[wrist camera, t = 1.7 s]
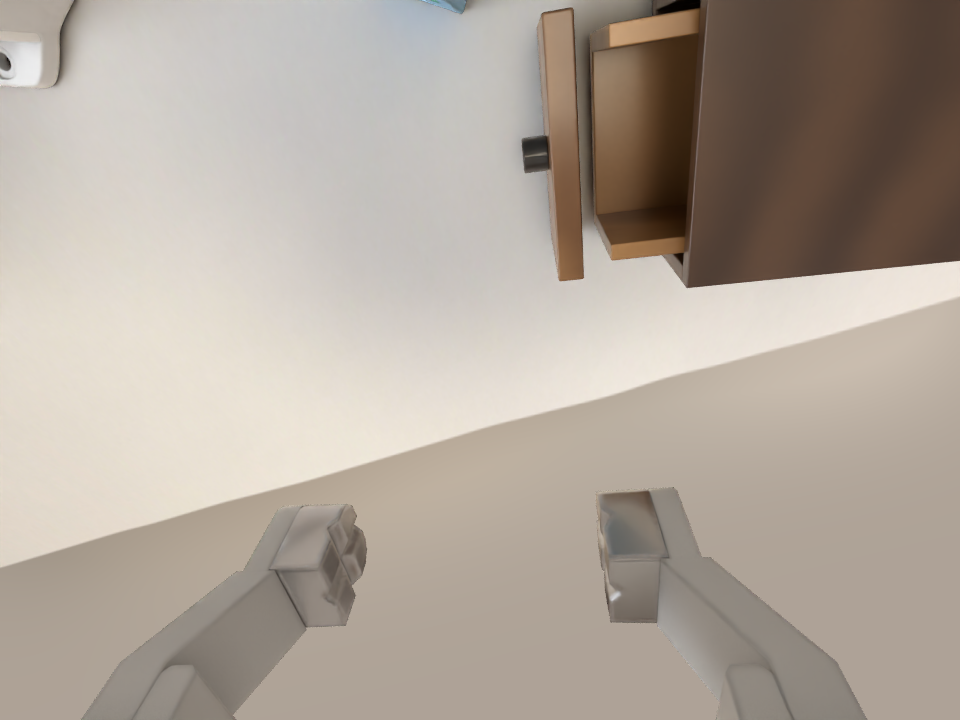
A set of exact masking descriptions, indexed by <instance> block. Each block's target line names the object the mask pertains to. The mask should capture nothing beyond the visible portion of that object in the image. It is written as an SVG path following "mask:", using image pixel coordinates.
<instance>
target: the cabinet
mask: <svg viewBox="0 0 960 720" xmlns="http://www.w3.org/2000/svg"><path fill="white" fill-rule="evenodd" d="M697 8H700V21H699V36H698V51H697V66H696V81H695V96H694V111H693V126H692V141H691V156H690V171H689V186H688V201H687V216H686V231H685V246H684V253H676V254H667V255H663V257H664V258H665V259H666V261H667V262H668V263H669V265H670V266H671V267H672V269H673V270H674V271H675V273H676V274H677V275H678V277H679V278H680V279H681V281H682V282H683V284H684V285H685V286H686V288H692V287H702V286H712V285H722V284H732V283H742V282H752V281H762V280H772V279H782V278H792V277H802V276H812V275H822V274H832V273H842V272H852V271H862V270H872V269H882V268H892V267H902V266H912V265H922V264H932V263H942V262H952V261H960V0H653V5H652V16H656V15H662V14H668V13H673V12H679V11H685V10H691V9H697Z"/></svg>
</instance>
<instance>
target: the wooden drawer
mask: <svg viewBox="0 0 960 720" xmlns="http://www.w3.org/2000/svg"><path fill="white" fill-rule="evenodd" d="M699 21H700V8H697V9H691V10H685V11H679V12H673V13H668V14H662V15H656V16H650V17H644V18H639V19H633V20H627V21H621V22H615V23H610V24H608V25H606V26H604V27H602V28H600V29H598V30H596V31H594V32H593V33H591V34H590V67H591V106H592V145H593V184H594V223H595V226H596V228H597V230H598V233H599V235H600V237H601V239H602V241H603V243H604V245H605V248H606V250H607V252H608V254H609V256H610V258H611V260H621V259H630V258H639V257H648V256H658V255H667V254H676V253H684V246H685V231H686V216H687V201H688V186H689V171H690V156H691V141H692V126H693V111H694V96H695V81H696V66H697V51H698V36H699ZM537 37H538V51H539V65H540V79H541V94H542V108H543V122H544V135H542V136H535V137H528V138H523V139H522V151H523V162H524V171H525V173H531V172H539V171H546V170H547V179H548V193H549V208H550V222H551V236H552V244H553V249H554V255H555V261H556V267H557V272H558V278H559V281H567V280H577V279H583V278H584V266H583V240H582V214H581V188H580V162H579V136H578V110H577V84H576V58H575V32H574V10H573V8H565V9H560V10H554V11H548V12H543V13H542V15H541V18H540V20H539V23H538V26H537Z"/></svg>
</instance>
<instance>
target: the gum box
mask: <svg viewBox="0 0 960 720" xmlns="http://www.w3.org/2000/svg"><path fill="white" fill-rule="evenodd" d="M421 1H424V2H427V3H430V4H433V5H436V6H439V7H442V8H445V9H448V10H451V11H454V12H457V13H460V14H462V13H463V12H464V8H465V4H466V0H421Z"/></svg>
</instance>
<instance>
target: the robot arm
mask: <svg viewBox="0 0 960 720" xmlns="http://www.w3.org/2000/svg"><path fill="white" fill-rule="evenodd" d="M73 1H74V0H0V86H8V87H24V88H40V89H45V88H49V87H52V86H53V85H54V84H55V82H56V81H57V78H58V73H59V62H60V36H59V34H60V30H61V27H62V24H63V21H64V19H65V17H66V15H67V13H68V11H69V9H70V7H71V5H72V3H73ZM6 56H7V57H8V59H9V60H10V63H11V67H10V66H9V64H8V62H7V59H6ZM596 507H597V514H598V520H597V533H598V545H599V554H600V560H601V567H602V570H603V571H604V576H605V593H606V598H607V604H608V610H609V616H610V622H623V623H657V626H658V627H659V628H660V630H661V631H662V632H663V633H664V635H665V636H666V637H667V638H668V639H669V641H670V642H671V643H672V644H673V646H674V647H675V648H676V649H677V650H678V652H679V653H680V654H681V655H682V657H683V658H684V659H685V660H686V661H687V663H688V664H689V665H690V666H691V668H692V669H693V670H694V671H695V673H696V674H697V675H698V676H699V677H700V679H701V680H702V681H703V682H704V684H705V685H706V686H707V687H708V689H709V690H710V691H711V692H712V694H713V695H714V696H715V697H716V698H717V700H718V701H719V707H718V712H717V717H716V720H867V718H866V716H865V714H864V713H863V711H862V709H861V707H860V705H859V703H858V701H857V699H856V697H855V695H854V694H853V692H852V690H851V688H850V686H849V684H848V682H847V681H846V678H845V677H844V675H843V673H842V671H841V669H840V667H839V665H838V663H837V662H836V661H835V660H834V659H833V658H831V657H830V656H829V655H828V654H827V653H825V652H824V651H823V650H822V649H821V648H819V647H818V646H817V645H816V644H814V643H813V642H812V641H811V640H810V639H808V638H807V637H806V636H805V635H804V634H802V633H801V632H800V631H799V630H797V629H796V628H795V627H794V626H792V624H790V623H789V622H788V621H787V620H786V619H784V618H783V617H782V616H781V615H779V614H778V613H777V612H776V611H775V610H773V609H772V608H771V607H770V606H769V605H767V604H766V603H765V602H764V601H763V600H761V599H760V598H759V597H758V596H757V595H755V594H754V593H753V592H752V591H751V590H749V589H748V588H747V587H746V586H744V585H743V584H742V583H741V582H740V581H738V580H737V579H736V578H735V577H734V576H732V575H731V574H730V573H728V572H727V571H726V570H725V569H724V568H723V567H722V566H720V565H719V564H718V563H717V562H716V561H714V560H713V559H712V558H711V557H709V558H708V557H702V556H701V553H700V551H699V548H698V545H697V543H696V540H695V537H694V534H693V532H692V529H691V526H690V524H689V521H688V518H687V516H686V513H685V510H684V508H683V505H682V502H681V500H680V497H679V494H678V492H677V490H676V489H675V488H674V487H669V488H651V489H634V490H616V491H599V492H596ZM356 517H357V515H356V513H355V511H354V509H353V506H352V505H348V504H335V505H304V506H283V507H281V508H280V509H279V510H277V512H276V513H275V515H274V517H273V518H272V520H271V522H270V524H269V525H268V527H267V529H266V531H265V533H264V535H263V536H262V538H261V540H260V541H259V543H258V545H257V547H256V549H255V550H254V552H253V554H252V556H251V558H250V559H249V561H248V563H247V565H246V566H245V568H244V570H243V571H236V572H235V573H234V574H233V575H231V576H230V577H228V578H227V579H226V580H225V581H224V582H222V583H221V584H220V585H218V586H217V587H216V588H214V589H213V590H212V591H211V592H209V593H208V594H207V595H206V596H204V597H203V598H202V599H200V600H199V601H198V602H197V603H195V604H194V605H193V606H191V607H190V608H189V609H188V610H187V611H185V612H184V613H183V614H181V615H180V616H179V617H178V618H176V619H175V620H174V621H172V622H171V623H170V624H169V625H167V626H166V627H165V628H163V629H162V630H161V631H160V632H159V633H157V634H156V635H154V636H153V637H152V638H151V639H150V640H148V641H147V642H146V643H144V644H143V645H142V646H140V647H139V648H138V649H137V650H135V651H134V652H133V653H132V654H130V655H129V656H128V657H126V658H125V659H124V660H123V661H121V662H120V664H119V665H118V666H117V668H116V669H115V671H114V672H113V674H112V675H111V677H110V678H109V680H108V681H107V683H106V684H105V686H104V687H103V688H102V690H101V691H100V693H99V694H98V696H97V697H96V699H95V700H94V702H93V703H92V705H91V706H90V708H89V709H88V710H87V712H86V713H85V715H84V716H83V718H82V719H81V720H236V719H235V717H234V716H233V714H234V713H235V712H236V711H237V710H238V708H239V707H240V706H241V705H242V704H243V703H244V702H245V700H246V699H247V698H248V697H249V696H250V695H251V693H252V692H253V691H254V690H255V689H256V688H257V687H258V685H259V684H260V683H261V682H262V681H263V679H264V678H265V677H266V676H267V675H268V674H269V673H270V672H271V670H272V669H273V668H274V667H275V666H276V665H277V663H278V662H279V661H280V660H281V659H282V657H284V655H285V654H286V653H287V652H288V651H289V650H290V648H291V647H292V646H293V645H294V644H295V643H296V641H297V640H298V639H299V638H300V637H301V636H302V634H303V633H304V632H305V631H306V628H305V627H328V626H346V624H347V620H348V617H349V614H350V611H351V608H352V605H353V602H354V599H355V593H354V590H353V588H352V585H353V584H354V583H355V582H356V581H357V580H358V579H359V578H360V577H361V576H362V573H363V570H364V567H365V563H366V551H367V548H366V541H365V537H364V534H363V531H362V530H361V529H359V528H358V527H357V526H355V525H354V523H355V520H356Z"/></svg>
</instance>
